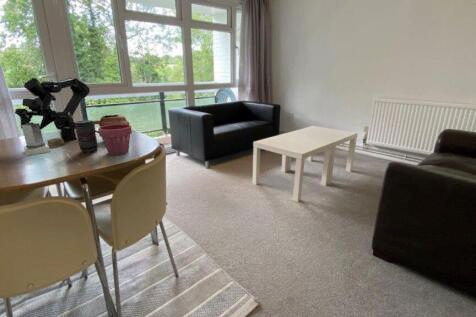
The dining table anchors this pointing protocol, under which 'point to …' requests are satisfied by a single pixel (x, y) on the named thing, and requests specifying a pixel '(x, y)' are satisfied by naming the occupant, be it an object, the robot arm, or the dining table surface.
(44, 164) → the dining table surface
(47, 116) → the robot arm
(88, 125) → the camera lens
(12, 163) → the dining table surface
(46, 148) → the stand
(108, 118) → the decorative planter
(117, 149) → the plant pot
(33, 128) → the housing
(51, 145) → the walnut block
